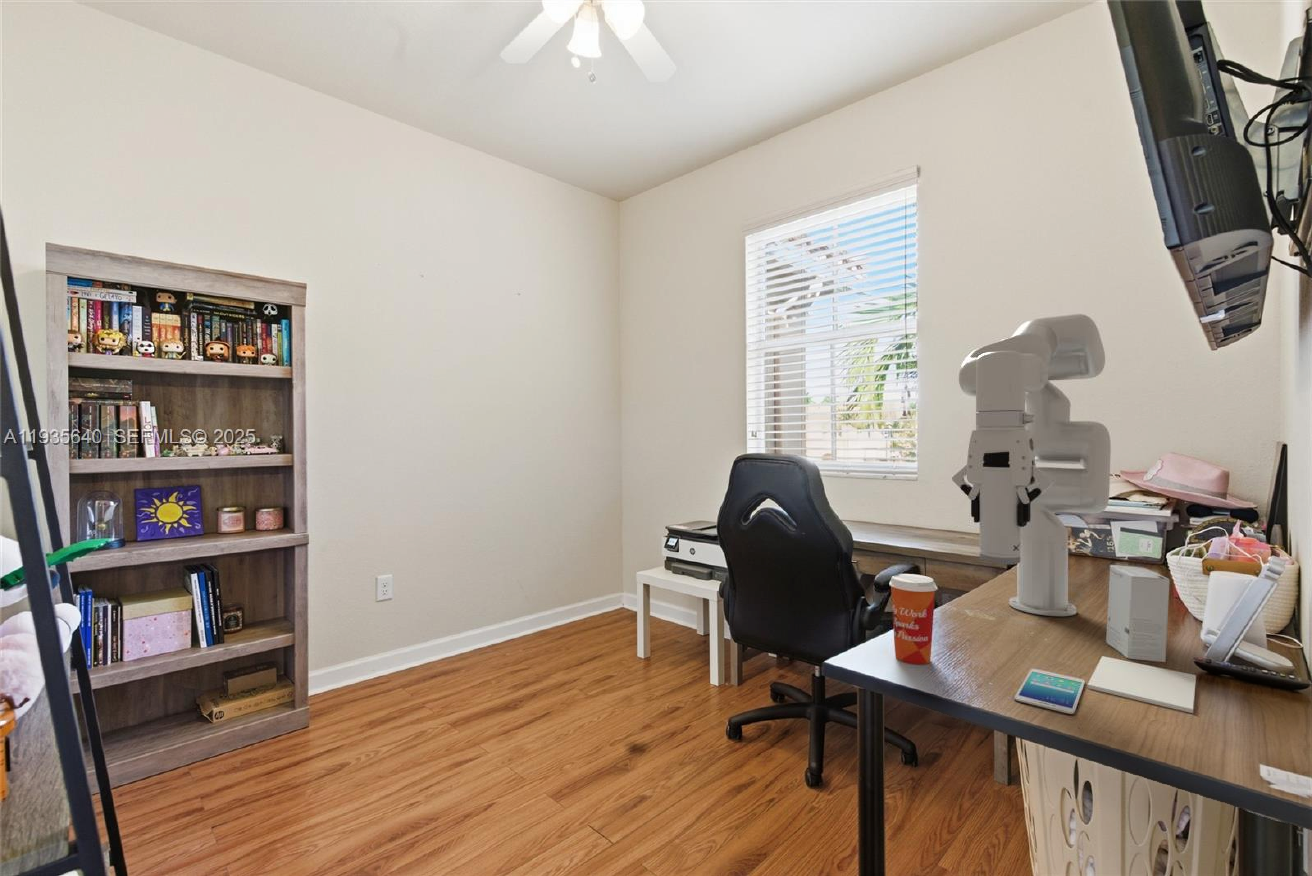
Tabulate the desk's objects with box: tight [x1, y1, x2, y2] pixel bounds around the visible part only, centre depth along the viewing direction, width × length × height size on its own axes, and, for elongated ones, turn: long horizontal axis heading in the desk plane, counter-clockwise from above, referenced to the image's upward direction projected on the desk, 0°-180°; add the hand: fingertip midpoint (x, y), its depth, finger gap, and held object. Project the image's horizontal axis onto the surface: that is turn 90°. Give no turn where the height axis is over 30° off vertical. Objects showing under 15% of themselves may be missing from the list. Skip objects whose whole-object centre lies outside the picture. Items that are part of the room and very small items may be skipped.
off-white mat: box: [1087, 655, 1197, 714], centre depth 93 cm, size 16×12×1 cm
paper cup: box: [888, 573, 938, 666], centre depth 103 cm, size 8×8×14 cm
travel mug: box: [979, 452, 1021, 565], centre depth 105 cm, size 6×7×20 cm
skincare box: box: [1105, 564, 1170, 663], centre depth 106 cm, size 8×6×15 cm
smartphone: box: [1013, 668, 1086, 717], centre depth 90 cm, size 7×1×15 cm
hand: (999, 522), depth 105 cm, fingers closed on travel mug, 6 cm apart
